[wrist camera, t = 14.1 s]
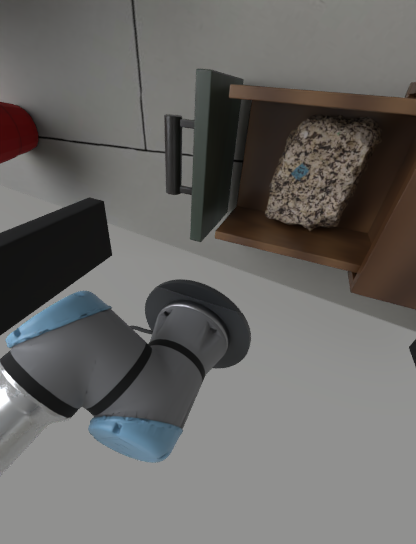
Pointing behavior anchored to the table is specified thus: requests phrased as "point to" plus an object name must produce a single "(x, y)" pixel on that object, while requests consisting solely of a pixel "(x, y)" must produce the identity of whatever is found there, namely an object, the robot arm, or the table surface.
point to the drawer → (264, 160)
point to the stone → (321, 169)
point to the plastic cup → (15, 132)
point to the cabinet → (393, 249)
